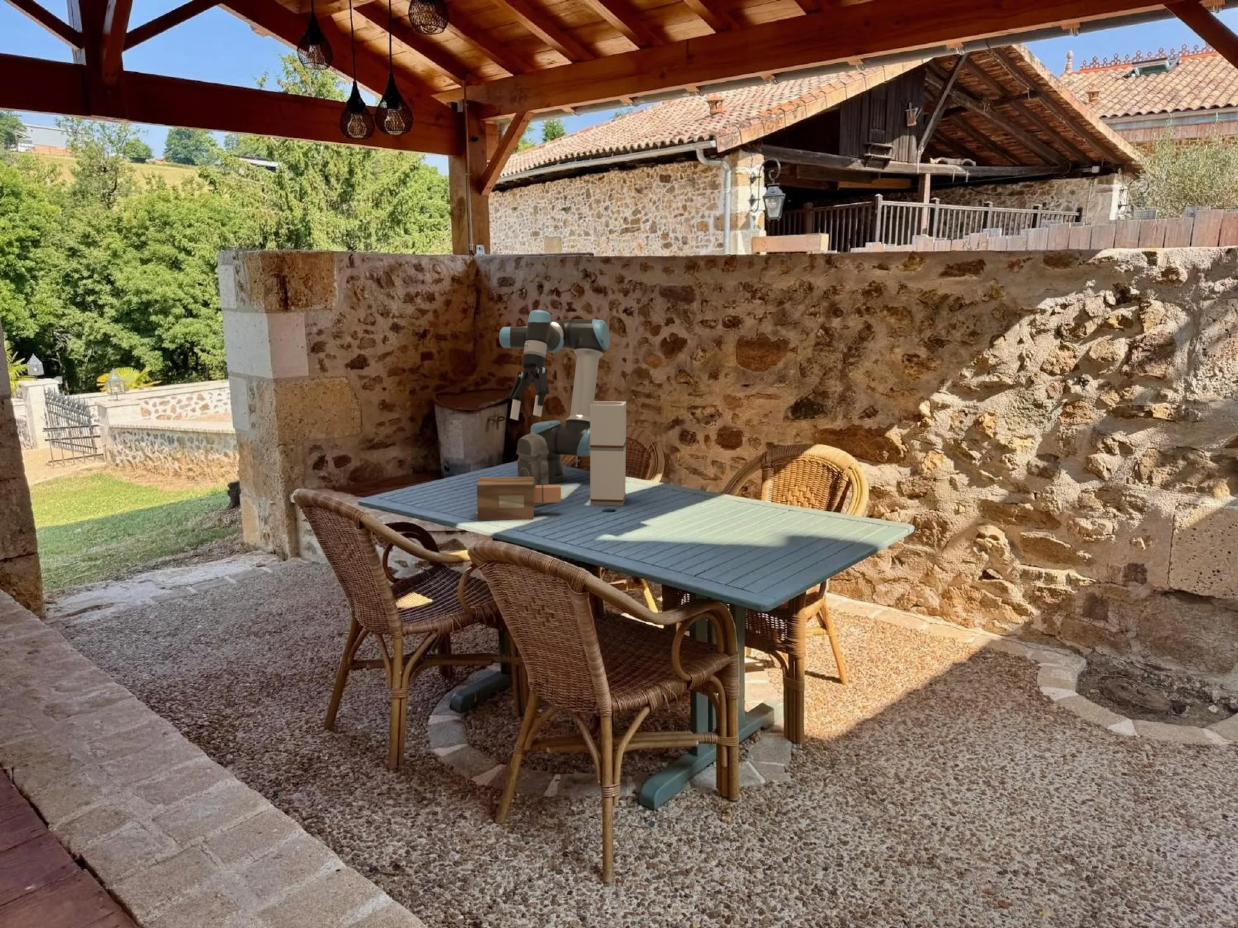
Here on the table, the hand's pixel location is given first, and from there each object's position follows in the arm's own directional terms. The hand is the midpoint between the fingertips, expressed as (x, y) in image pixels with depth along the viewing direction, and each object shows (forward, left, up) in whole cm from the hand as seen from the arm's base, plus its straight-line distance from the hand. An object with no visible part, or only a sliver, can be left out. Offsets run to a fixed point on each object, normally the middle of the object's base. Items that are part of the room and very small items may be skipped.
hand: (525, 417), depth 273 cm
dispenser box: (+5, -7, -32) cm, 33 cm away
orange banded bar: (+5, -1, -27) cm, 28 cm away
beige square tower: (-11, +28, -32) cm, 44 cm away
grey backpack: (-12, +2, -32) cm, 34 cm away
